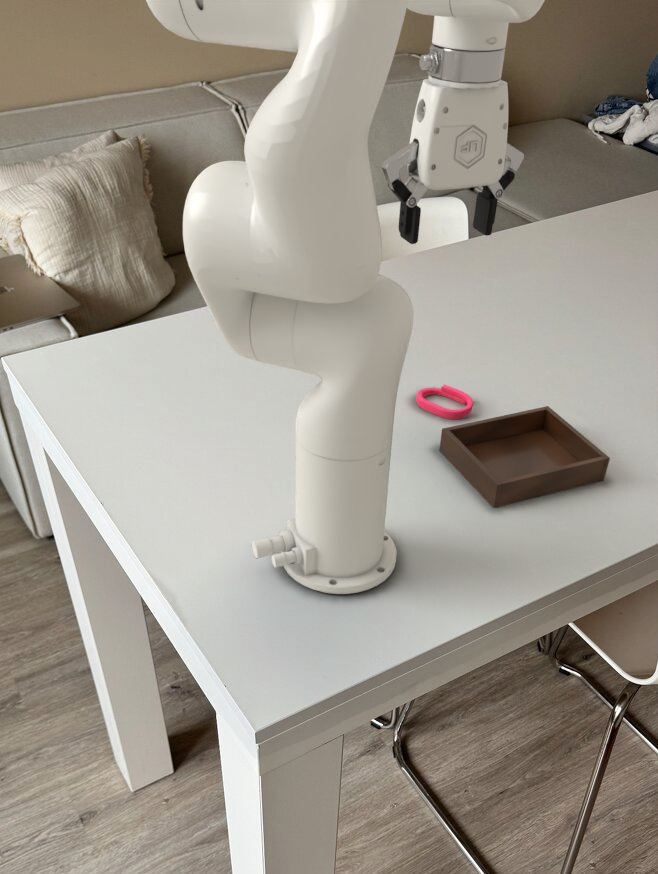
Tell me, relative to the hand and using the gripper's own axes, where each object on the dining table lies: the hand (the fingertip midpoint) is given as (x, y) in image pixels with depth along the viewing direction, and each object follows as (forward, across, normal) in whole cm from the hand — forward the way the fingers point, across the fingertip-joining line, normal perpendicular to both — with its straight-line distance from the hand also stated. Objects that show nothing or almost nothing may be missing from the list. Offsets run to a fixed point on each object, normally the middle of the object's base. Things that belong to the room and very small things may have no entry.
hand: (445, 235), depth 103 cm
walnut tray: (+25, +7, -13) cm, 29 cm away
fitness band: (+25, +5, +4) cm, 25 cm away
